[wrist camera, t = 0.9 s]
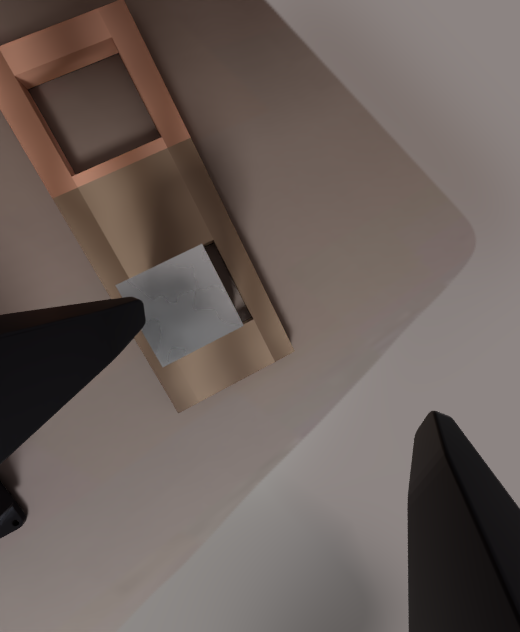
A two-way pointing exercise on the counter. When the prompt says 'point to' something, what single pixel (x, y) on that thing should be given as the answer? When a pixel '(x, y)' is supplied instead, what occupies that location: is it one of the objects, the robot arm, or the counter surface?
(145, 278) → the square peg
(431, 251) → the counter surface
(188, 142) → the brown flat frame piece
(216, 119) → the counter surface
